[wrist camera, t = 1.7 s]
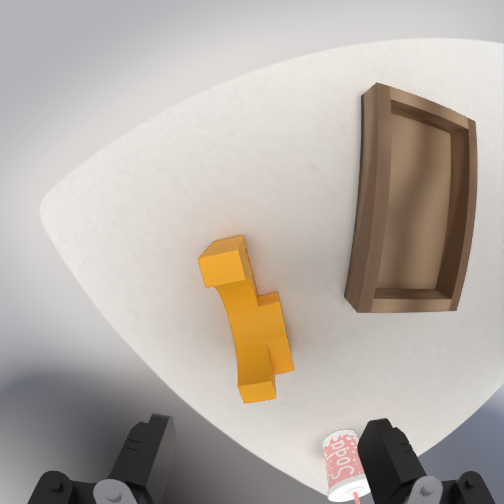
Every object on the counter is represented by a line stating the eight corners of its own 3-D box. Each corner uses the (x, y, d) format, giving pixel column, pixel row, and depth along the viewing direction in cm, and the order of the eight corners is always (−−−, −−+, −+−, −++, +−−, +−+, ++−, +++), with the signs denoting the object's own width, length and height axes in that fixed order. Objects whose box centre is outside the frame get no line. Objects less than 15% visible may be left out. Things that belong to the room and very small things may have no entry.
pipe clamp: (290, 351, 25) (298, 394, 19) (246, 359, 25) (243, 403, 19) (263, 229, 23) (266, 243, 16) (213, 241, 23) (197, 258, 17)
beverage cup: (360, 420, 27) (394, 505, 13) (361, 444, 28) (388, 520, 15) (314, 434, 27) (333, 525, 14) (319, 456, 29) (335, 536, 15)
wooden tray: (454, 127, 20) (475, 121, 16) (437, 298, 24) (456, 310, 20) (361, 96, 20) (376, 82, 16) (344, 296, 24) (357, 312, 20)
